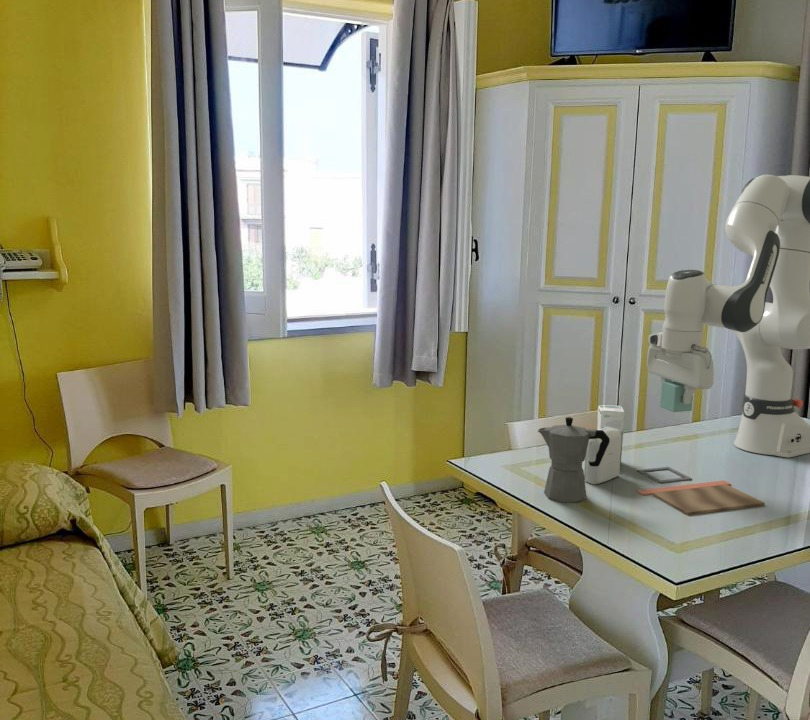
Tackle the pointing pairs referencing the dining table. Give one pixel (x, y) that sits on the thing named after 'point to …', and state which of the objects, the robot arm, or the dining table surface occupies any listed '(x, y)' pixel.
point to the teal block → (674, 397)
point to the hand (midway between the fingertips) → (676, 400)
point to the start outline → (665, 480)
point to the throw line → (682, 487)
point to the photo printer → (609, 461)
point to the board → (708, 499)
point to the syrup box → (611, 419)
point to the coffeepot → (569, 459)
